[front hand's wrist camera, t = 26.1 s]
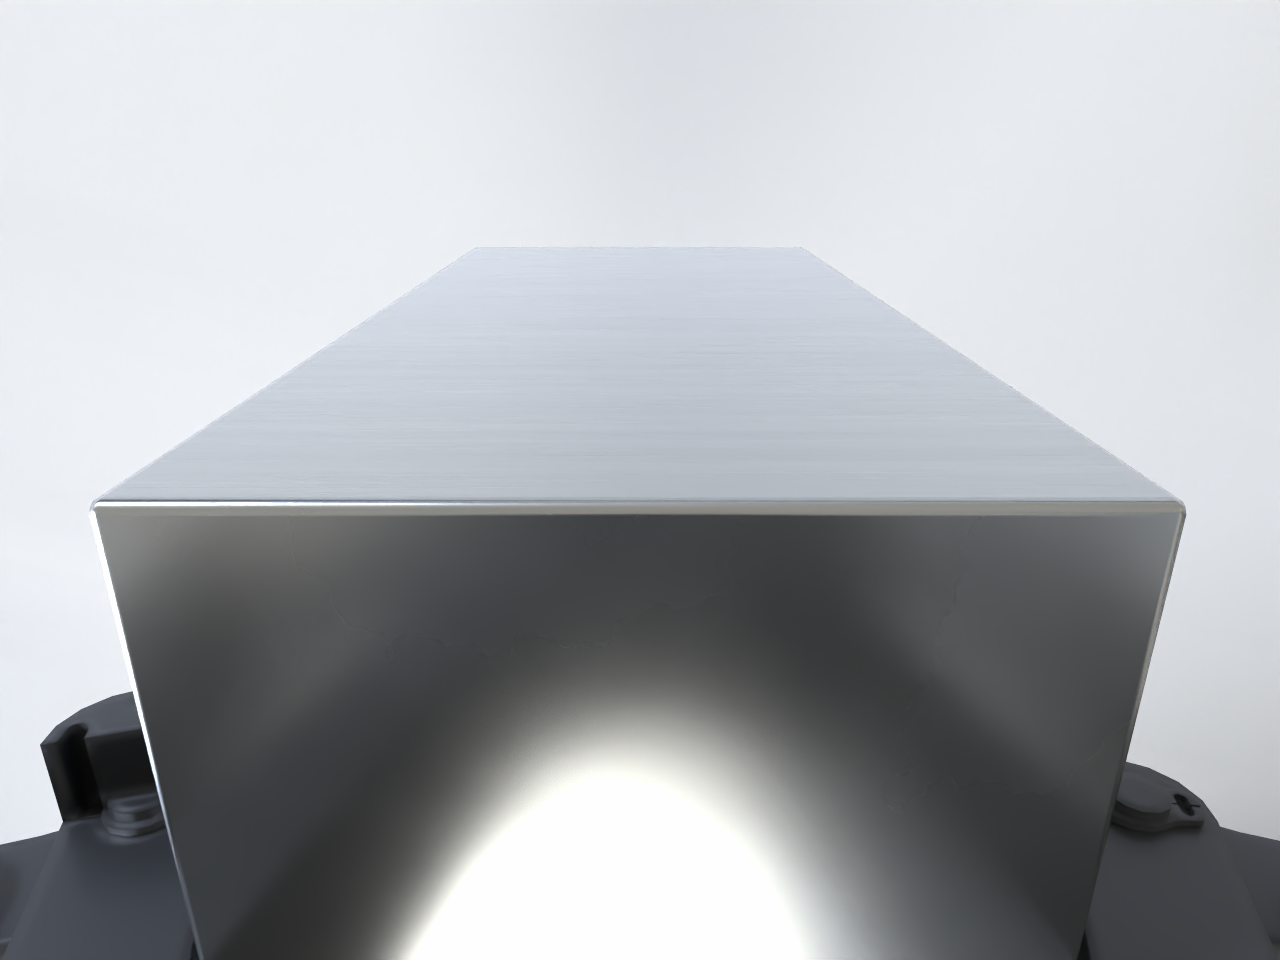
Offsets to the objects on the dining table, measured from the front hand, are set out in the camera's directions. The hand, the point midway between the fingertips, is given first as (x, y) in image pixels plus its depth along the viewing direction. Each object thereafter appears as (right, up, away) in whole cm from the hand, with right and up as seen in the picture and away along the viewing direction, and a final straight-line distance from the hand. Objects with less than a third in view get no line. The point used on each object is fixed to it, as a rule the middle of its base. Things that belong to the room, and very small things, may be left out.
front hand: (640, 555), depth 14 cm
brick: (0, +1, +2) cm, 2 cm away
